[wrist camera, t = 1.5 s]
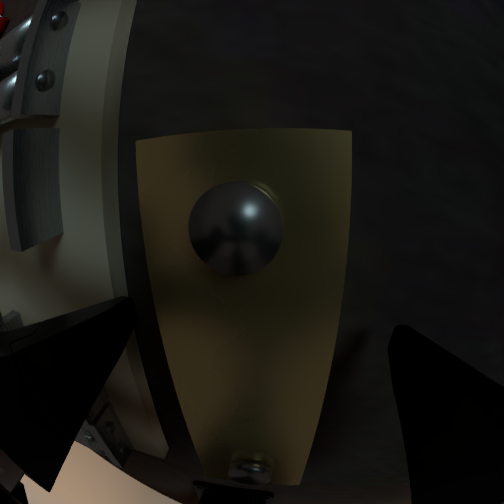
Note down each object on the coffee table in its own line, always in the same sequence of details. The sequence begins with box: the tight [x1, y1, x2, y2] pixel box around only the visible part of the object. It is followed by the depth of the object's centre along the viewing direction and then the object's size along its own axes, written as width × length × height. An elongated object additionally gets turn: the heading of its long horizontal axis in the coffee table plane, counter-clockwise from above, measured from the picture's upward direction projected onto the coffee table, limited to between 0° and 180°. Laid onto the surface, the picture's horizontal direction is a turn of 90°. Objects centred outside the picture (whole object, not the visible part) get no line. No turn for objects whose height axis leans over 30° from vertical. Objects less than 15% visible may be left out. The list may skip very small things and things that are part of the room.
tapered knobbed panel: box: [136, 128, 352, 485], centre depth 8 cm, size 11×4×5 cm, turn 1°
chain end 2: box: [0, 310, 133, 468], centre depth 11 cm, size 10×7×2 cm
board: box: [0, 0, 169, 459], centre depth 10 cm, size 25×11×1 cm, turn 177°
